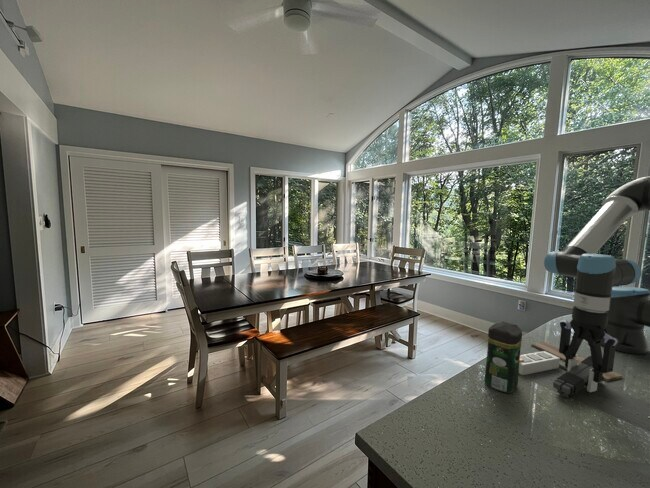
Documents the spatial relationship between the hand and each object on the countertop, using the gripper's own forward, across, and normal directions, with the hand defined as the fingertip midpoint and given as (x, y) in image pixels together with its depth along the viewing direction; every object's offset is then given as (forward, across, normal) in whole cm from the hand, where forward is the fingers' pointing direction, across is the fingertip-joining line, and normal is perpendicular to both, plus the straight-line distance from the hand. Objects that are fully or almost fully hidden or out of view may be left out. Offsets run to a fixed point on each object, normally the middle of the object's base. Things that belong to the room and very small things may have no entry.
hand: (580, 384), depth 84 cm
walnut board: (+1, -12, +16) cm, 20 cm away
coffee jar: (+1, -8, -21) cm, 23 cm away
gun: (+1, 0, 0) cm, 1 cm away
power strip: (+1, -9, -1) cm, 9 cm away
